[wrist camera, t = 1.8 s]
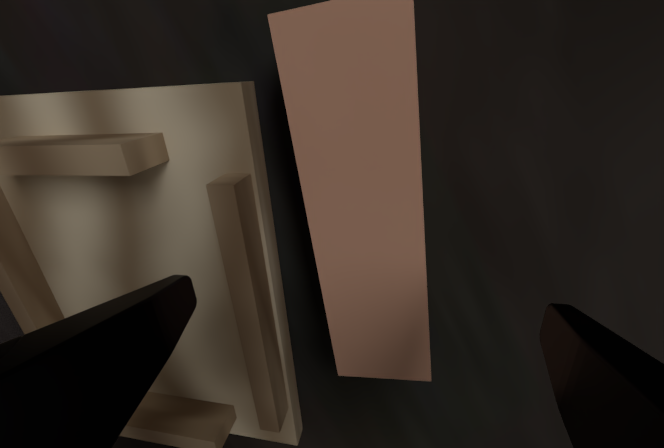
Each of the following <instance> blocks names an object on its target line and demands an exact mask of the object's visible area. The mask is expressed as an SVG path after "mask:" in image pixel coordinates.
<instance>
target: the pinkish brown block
mask: <svg viewBox="0 0 664 448" xmlns="http://www.w3.org/2000/svg"><path fill="white" fill-rule="evenodd" d="M268 21H269V26H270V31H271V36H272V41H273V46H274V51H275V56H276V61H277V66H278V71H279V77H280V82H281V87H282V92H283V97H284V102H285V107H286V112H287V117H288V122H289V128H290V133H291V138H292V143H293V148H294V153H295V158H296V163H297V168H298V173H299V178H300V184H301V189H302V194H303V199H304V204H305V209H306V214H307V219H308V224H309V229H310V235H311V240H312V245H313V250H314V255H315V260H316V265H317V270H318V275H319V280H320V285H321V291H322V296H323V301H324V306H325V311H326V316H327V321H328V326H329V331H330V336H331V341H332V347H333V352H334V357H335V362H336V367H337V372H338V376H353V377H369V378H385V379H401V380H417V381H431V362H430V341H429V320H428V299H427V277H426V256H425V235H424V214H423V193H422V171H421V150H420V129H419V108H418V86H417V65H416V44H415V23H414V1H413V0H331V1H326V2H322V3H317V4H313V5H309V6H304V7H300V8H295V9H291V10H286V11H282V12H277V13H273V14H268Z"/></svg>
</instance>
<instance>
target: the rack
mask: <svg viewBox="0 0 664 448" xmlns="http://www.w3.org/2000/svg"><path fill="white" fill-rule="evenodd" d="M176 274H177V275H187V276H189V277H190V278H191V280H192V283H193V287H194V291H195V294H196V298H197V305H196V308H195V310H194V312H193V314H192V316H191V318H190V320H189V322H188V324H187V326H186V328H185V330H184V332H183V333H182V335H181V337H180V339H179V341H178V343H177V345H176V347H175V349H174V351H173V352H172V354H171V356H170V358H169V359H168V361H167V363H166V364H165V366H164V367H163V369H162V370H161V372H160V373H159V375H158V377H157V378H156V380H155V381H154V383H153V384H152V386H151V387H150V389H149V390H148V392H147V394H146V395H145V397H144V398H143V400H142V401H141V403H140V404H139V406H138V408H137V409H136V411H135V412H134V414H133V415H132V417H131V418H130V420H129V421H128V423H127V425H126V426H125V428H124V429H123V431H122V432H121V434H120V435H119V436H124V437H129V438H134V439H139V440H144V441H149V442H154V443H159V444H164V445H169V446H174V447H180V448H222V447H223V445H224V443H225V441H226V439H227V437H228V435H229V433H230V434H236V435H241V436H247V437H253V438H258V439H264V440H269V441H275V442H280V443H286V444H291V445H297V446H298V443H299V439H300V436H301V433H302V429H303V426H302V419H301V412H300V405H299V398H298V391H297V384H296V377H295V370H294V363H293V356H292V349H291V341H290V334H289V327H288V320H287V313H286V306H285V299H284V292H283V285H282V278H281V271H280V264H279V257H278V250H277V243H276V236H275V228H274V221H273V214H272V207H271V200H270V193H269V186H268V179H267V172H266V165H265V158H264V151H263V144H262V137H261V130H260V123H259V115H258V108H257V101H256V94H255V87H254V81H248V82H231V83H214V84H196V85H179V86H161V87H144V88H127V89H109V90H92V91H75V92H57V93H40V94H23V95H5V96H0V291H1V293H2V295H3V297H4V298H5V300H6V302H7V304H8V305H9V307H10V309H11V311H12V312H13V314H14V316H15V318H16V320H17V321H18V323H19V325H20V327H21V328H22V330H23V332H24V334H27V333H30V332H32V331H35V330H37V329H40V328H42V327H45V326H47V325H50V324H52V323H55V322H57V321H59V320H62V319H64V318H67V317H69V316H72V315H74V314H77V313H79V312H82V311H84V310H87V309H89V308H92V307H94V306H97V305H99V304H102V303H104V302H107V301H109V300H112V299H114V298H117V297H119V296H122V295H124V294H127V293H129V292H132V291H134V290H137V289H139V288H142V287H144V286H147V285H149V284H152V283H154V282H157V281H159V280H162V279H164V278H167V277H169V276H172V275H176Z"/></svg>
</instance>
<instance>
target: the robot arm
mask: <svg viewBox="0 0 664 448" xmlns="http://www.w3.org/2000/svg"><path fill="white" fill-rule="evenodd" d="M196 305H197V298H196V294H195V291H194V287H193V283H192V280H191V278H190V277H189V276H187V275H177V274H176V275H172V276H169V277H167V278H164V279H162V280H159V281H157V282H154V283H152V284H149V285H147V286H144V287H142V288H139V289H137V290H134V291H132V292H129V293H127V294H124V295H122V296H119V297H117V298H114V299H112V300H109V301H107V302H104V303H102V304H99V305H97V306H94V307H92V308H89V309H87V310H84V311H82V312H79V313H77V314H74V315H72V316H69V317H67V318H64V319H62V320H59V321H57V322H55V323H52V324H50V325H47V326H45V327H42V328H40V329H37V330H35V331H32V332H30V333H27V334H25V335H24V336H23V337H22V336H20V337H17V338H14V339H12V340H10V341H7V342H5V343H2V344H0V448H112V446H113V445H114V443H115V442H116V440H117V438H118V437H119V435H120V434H121V432H122V431H123V429H124V428H125V426H126V425H127V423H128V421H129V420H130V418H131V417H132V415H133V414H134V412H135V411H136V409H137V408H138V406H139V404H140V403H141V401H142V400H143V398H144V397H145V395H146V394H147V392H148V390H149V389H150V387H151V386H152V384H153V383H154V381H155V380H156V378H157V377H158V375H159V373H160V372H161V370H162V369H163V367H164V366H165V364H166V363H167V361H168V359H169V358H170V356H171V354H172V352H173V351H174V349H175V347H176V345H177V343H178V341H179V339H180V337H181V335H182V333H183V332H184V330H185V328H186V326H187V324H188V322H189V320H190V318H191V316H192V314H193V312H194V310H195V308H196ZM540 342H541V346H542V350H543V354H544V357H545V361H546V365H547V369H548V372H549V376H550V380H551V384H552V387H553V391H554V395H555V398H556V402H557V405H558V408H559V411H560V414H561V417H562V419H563V422H564V425H565V427H566V430H567V432H568V435H569V437H570V440H571V442H572V445H573V448H664V364H663V363H661V362H660V361H658V360H657V359H655V358H653V357H652V356H650V355H649V354H647V353H646V352H644V351H642V350H641V349H639V348H638V347H636V346H635V345H633V344H631V343H630V342H628V341H627V340H625V339H623V338H622V337H620V336H619V335H617V334H616V333H614V332H612V331H611V330H609V329H608V328H606V327H605V326H603V325H601V324H600V323H598V322H597V321H595V320H593V319H592V318H590V317H589V316H587V315H586V314H584V313H582V312H581V311H579V310H578V309H576V308H575V307H573V306H571V305H567V304H554V303H551V304H549V305H548V306H547V308H546V311H545V315H544V319H543V323H542V327H541V330H540Z"/></svg>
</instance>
